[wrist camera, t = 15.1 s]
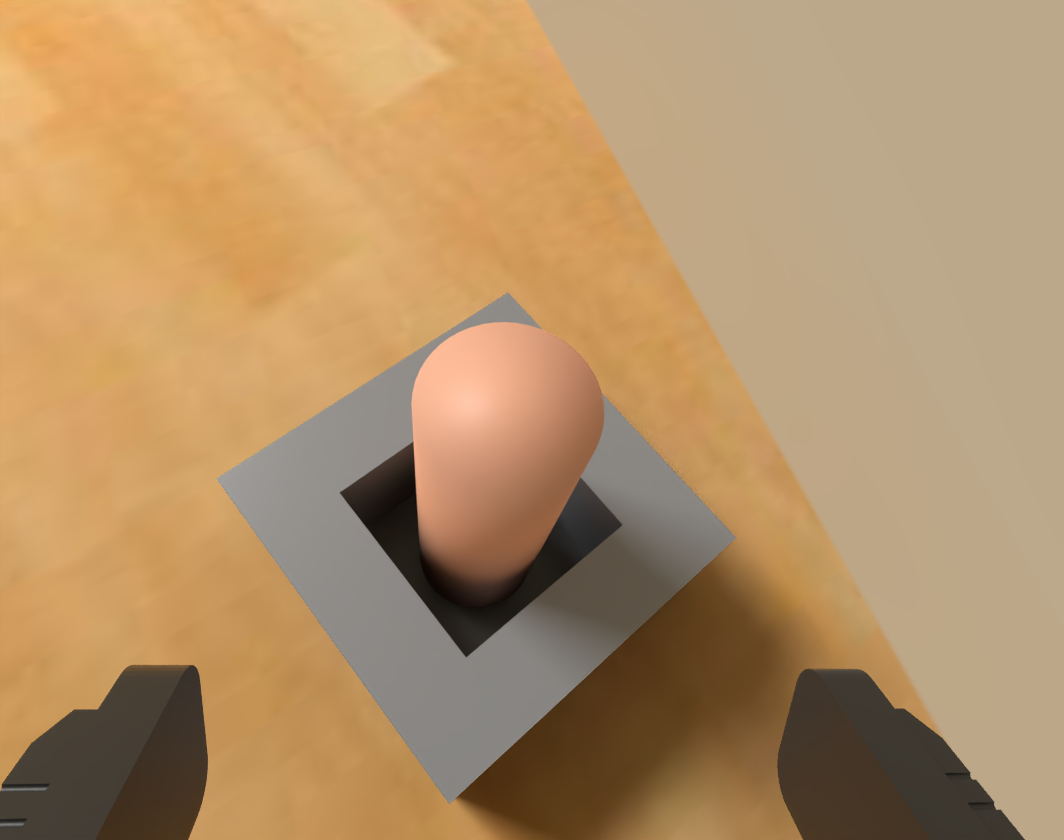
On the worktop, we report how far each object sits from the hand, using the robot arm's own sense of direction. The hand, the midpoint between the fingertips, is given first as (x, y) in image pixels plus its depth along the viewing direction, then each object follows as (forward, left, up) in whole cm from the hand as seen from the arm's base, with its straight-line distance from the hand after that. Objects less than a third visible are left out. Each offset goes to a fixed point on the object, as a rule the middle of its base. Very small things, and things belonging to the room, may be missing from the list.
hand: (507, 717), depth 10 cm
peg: (+4, +4, -15) cm, 16 cm away
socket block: (+4, +5, -15) cm, 16 cm away
